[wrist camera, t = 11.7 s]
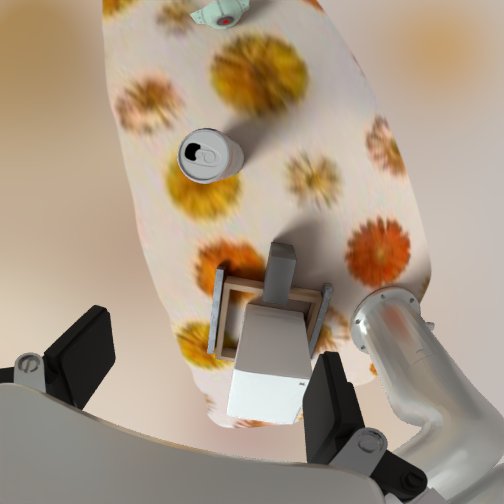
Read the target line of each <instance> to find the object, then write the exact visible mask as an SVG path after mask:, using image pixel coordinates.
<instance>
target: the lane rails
mask: <svg viewBox="0 0 504 504" xmlns="http://www.w3.org/2000/svg"><path fill="white" fill-rule="evenodd" d="M224 272H225V266H220V265H218V267H217V269H216V277H215V286H214V295H213V304H212V313H211V323H210V333H209V343H208V353H210V354H214V351H215V346H216V337H217V328H218V320H219V312H220V304H221V296H222V288H223V280H224ZM332 291H333V287H332V285H331V284H327V283H325V284H324V288H323V291H322V295H321V296H322V302H321V306H320V309H319V312H318V316H317V319H316V322H315V326H314V329H313V332H312V335H311V338H310V341H309V344H308V347H309V354H310V359H311V356H312V353H313V350H314V348H315V345H316V342H317V339H318V336H319V333H320V330H321V327H322V323H323V320H324V317H325V314H326V311H327V308H328V304H329V301H330V298H331V294H332Z"/></svg>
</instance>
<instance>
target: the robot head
mask: <svg viewBox="0 0 504 504" xmlns="http://www.w3.org/2000/svg"><path fill="white" fill-rule="evenodd" d="M248 9H249V0H217V1H214V2H211V3H210V4H209V5H207V6H206V7H204V8H202V9H200V10H198V11H196V12H194V13H192V14H190V16H191V17H192V18H193V19H194V20H195V21H196V23H197V24H207V25H210V26H212V27H214V28H218V29H226V28H229V27H232V26H234V25H235V24H236V23H237V22H238V20H239V19H240V17H241V15H242V14H243V13H244V12H245V11H247V10H248Z"/></svg>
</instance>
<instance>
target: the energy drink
mask: <svg viewBox="0 0 504 504" xmlns="http://www.w3.org/2000/svg"><path fill="white" fill-rule="evenodd" d="M177 158H178V164H179V167H180V169H181V170H182V172H183V173H184V174H185V175H186V176H187V177H188V178H189V179H191V180H193V181H195V182H198V183H212V182H215V181H218V180H221V179H225V178H228V177H231V176H233V175H235V174H236V173H238V172H239V170H240V169H241V168H242V166H243V163H244V152H243V149H242V148H241V146H240V145H239V144H238V143H237V142H236V141H234V140H233V139H231V138H229V137H228V136H226V135H225V134H223V133H221V132H220V131H218V130H215V129H211V128H203V129H198V130H196V131H193V132H192V133H190V134H189V135H187V136H186V137H185V138H184V140H183V141H182V142H181V144H180V146H179V149H178V156H177Z"/></svg>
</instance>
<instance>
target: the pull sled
mask: <svg viewBox="0 0 504 504" xmlns="http://www.w3.org/2000/svg"><path fill="white" fill-rule="evenodd" d="M296 261H297V260H296V256H295V252H294V248H293V246H291V245H286V244H280V243H274V242H271V247H270V252H269V258H268V263H267V268H266V274H265V279H264V282H261V281H255V280H249V279H243V278H238V277H232V276H227V278H226V280H225V283H224V291H223V299H222V307H221V315H220V323H219V331H218V340H217V348H216V357H215V359H219V360H224V361H230V362H235V357H236V352H237V349H232V348H227V347H223V344H224V336H225V329H226V322H227V314H228V307H229V300H230V293H231V289H233V290H238V291H244V292H250V293H256V294H261V295H263V302H269V303H275V304H282V305H286V304H287V300H288V299H292V300H299V301H306V302H311V305H310V309H309V312H308V316H307V319H306V323H305V328H306V334H307V340H308V344H309V341H310V338H311V335H312V332H313V329H314V326H315V322H316V319H317V316H318V312H319V309H320V306H321V302H322V296H321V293H320V291H317V290H310V289H304V288H297V287H291V283H292V279H293V274H294V270H295V265H296Z"/></svg>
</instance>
